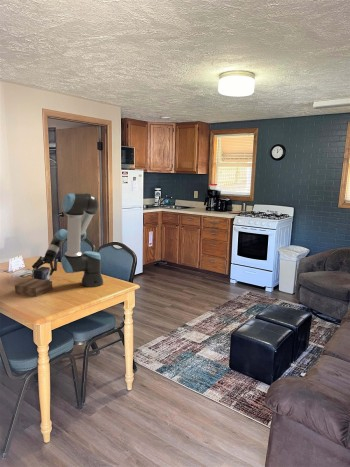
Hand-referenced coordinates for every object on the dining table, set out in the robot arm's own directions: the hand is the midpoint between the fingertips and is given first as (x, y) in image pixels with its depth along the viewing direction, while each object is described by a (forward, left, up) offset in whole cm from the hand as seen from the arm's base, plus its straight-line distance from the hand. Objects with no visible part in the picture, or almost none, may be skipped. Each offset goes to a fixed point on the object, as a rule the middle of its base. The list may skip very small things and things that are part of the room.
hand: (39, 277), depth 239 cm
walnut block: (-6, +14, -5) cm, 16 cm away
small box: (0, -3, -5) cm, 5 cm away
